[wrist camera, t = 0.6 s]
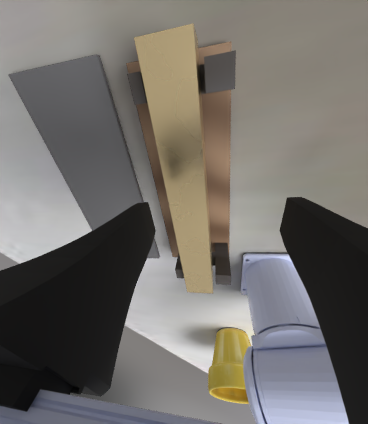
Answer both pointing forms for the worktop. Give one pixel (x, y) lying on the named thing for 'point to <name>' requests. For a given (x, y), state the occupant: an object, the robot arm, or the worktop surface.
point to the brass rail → (180, 143)
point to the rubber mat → (83, 135)
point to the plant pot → (229, 366)
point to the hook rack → (214, 149)
